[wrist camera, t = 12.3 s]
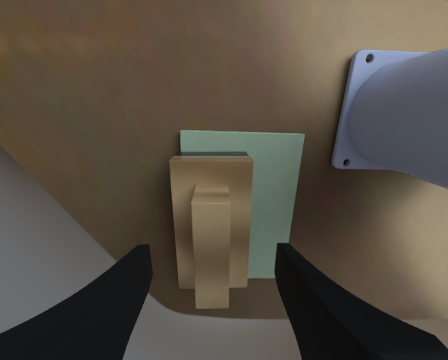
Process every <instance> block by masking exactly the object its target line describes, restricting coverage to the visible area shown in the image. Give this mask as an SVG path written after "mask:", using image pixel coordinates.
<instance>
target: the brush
mask: <svg viewBox="0 0 448 360" xmlns="http://www.w3.org/2000/svg"><path fill="white" fill-rule="evenodd" d="M253 165H254V160H253V159H252V157H251V156H249V155H248V154H247V152H178V153H177V154H176V155H175V156H173V157H172V158H171V159H170V160H169V167H170V180H171V193H172V205H173V218H174V231H175V244H176V256H177V269H178V282H179V289H195V301H196V309H212V308H229V288H245V287H247V284H248V264H249V244H250V224H251V205H252V185H253Z"/></svg>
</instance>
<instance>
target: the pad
mask: <svg viewBox="0 0 448 360" xmlns="http://www.w3.org/2000/svg"><path fill="white" fill-rule="evenodd" d="M304 137H305V135H304V134H298V133H265V132H231V131H198V130H181V131H180V148H181V152H247V154H248V155H249V156H251V157H252V159H253V160H254V165H253V185H252V205H251V224H250V244H249V264H248V278H275V274H274V268H275V258H276V248H277V243H289V237H290V230H291V223H292V217H293V210H294V203H295V197H296V190H297V184H298V177H299V170H300V164H301V157H302V150H303V144H304Z"/></svg>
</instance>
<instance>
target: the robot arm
mask: <svg viewBox="0 0 448 360" xmlns="http://www.w3.org/2000/svg"><path fill="white" fill-rule="evenodd" d="M366 56H369V62H368V63H367V62H366ZM346 159H347V162H346V164H344V165H343V162H344V160H346ZM331 164H332V166H333V167H335V168H338V169H377V170H395V171H398V172H401V173H404V174H407V175H409V176H412V177H415V178H418V179H421V180H424V181H427V182H430V183H432V184H435V185H438V186H441V187H444V188H447V189H448V48H446V49H442V50H438V51H434V52H430V53H423V52H402V51H381V50H360V51H357V52H356V53H355V54H354V55H353V56H352V59H351V64H350V69H349V74H348V79H347V84H346V90H345V95H344V100H343V105H342V110H341V115H340V120H339V125H338V130H337V135H336V140H335V145H334V150H333V155H332V160H331ZM274 274H275V278H276V283H277V286H278V290H279V293H280V296H281V298H282V301H283V304H284V307H285V309H286V312H287V315H288V317H289V320H290V323H291V325H292V328H293V330H294V333H295V336H296V339H297V343H298V346H299V350H300V354H301V357H302V360H448V348H446V346H445V345H444V344H443V343H442V342H441V341H440V340H439V339H438V338H437V337H436V336H435V335H433V334H430V333H428V332H426V331H424V330H421V329H419V328H417V327H414V326H412V325H410V324H408V323H405V322H403V321H401V320H399V319H397V318H395V317H393V316H391V315H389V314H387V313H385V312H383V311H381V310H379V309H377V308H375V307H374V306H372V305H370V304H368V303H367V302H365V301H363V300H361V299H360V298H358V297H356V296H355V295H353V294H351V293H350V292H348V291H347V290H345V289H344V288H342V287H341V286H339V285H338V284H336V283H335V282H334V281H332V280H331V279H330V278H328V277H327V276H326V275H324V274H323V273H322V272H321V271H319V270H318V269H317V268H316V267H314V266H313V265H312V264H311V263H310V262H309V261H307V260H306V259H305V258H304V257H303V256H302V255H301V254H300V253H299V252H297V251H296V250H295V249H294V248H293V247H292V246H291V245H290V244H289V243H277V248H276V258H275V268H274ZM152 276H153V271H152V263H151V255H150V248H149V245H137V246H136V247H135V248H133V249H132V250H131V251H130V252H129V253H128V254H126V255H125V256H124V257H123V258H122V259H120V260H119V261H118V262H117V263H116V264H114V265H113V266H112V267H111V268H110V269H108V270H107V271H106V272H104V273H103V274H102V275H100V276H99V277H98V278H97V279H95V280H94V281H92V282H91V283H90V284H88V285H87V286H86V287H84V288H83V289H81V290H80V291H78V292H77V293H75V294H73V295H72V296H70V297H69V298H67V299H65V300H64V301H62V302H60V303H59V304H57V305H55V306H53V307H52V308H50V309H48V310H47V311H45V312H43V313H41V314H39V315H37V316H35V317H34V318H32V319H29V320H28V321H26V322H24V323H21V324H19V325H17V326H15V327H13V328H11V329H9V330H7V331H5V332H3V333H0V360H122V359H123V356H124V353H125V350H126V346H127V344H128V341H129V338H130V335H131V333H132V330H133V328H134V326H135V323H136V320H137V318H138V316H139V313H140V311H141V309H142V306H143V304H144V301H145V299H146V296H147V293H148V290H149V287H150V283H151V280H152Z"/></svg>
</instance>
